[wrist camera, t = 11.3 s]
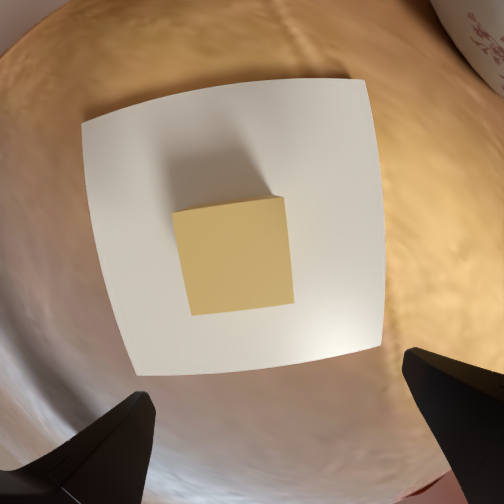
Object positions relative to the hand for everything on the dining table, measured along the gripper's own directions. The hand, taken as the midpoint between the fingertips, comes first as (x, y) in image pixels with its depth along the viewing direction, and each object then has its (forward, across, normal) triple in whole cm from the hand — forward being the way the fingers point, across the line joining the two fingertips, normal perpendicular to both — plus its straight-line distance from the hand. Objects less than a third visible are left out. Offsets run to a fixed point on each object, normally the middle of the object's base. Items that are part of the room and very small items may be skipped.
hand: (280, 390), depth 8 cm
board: (+12, +1, -3) cm, 12 cm away
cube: (+10, +1, -3) cm, 11 cm away
